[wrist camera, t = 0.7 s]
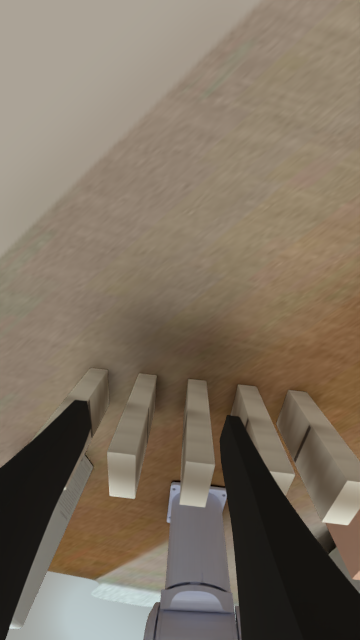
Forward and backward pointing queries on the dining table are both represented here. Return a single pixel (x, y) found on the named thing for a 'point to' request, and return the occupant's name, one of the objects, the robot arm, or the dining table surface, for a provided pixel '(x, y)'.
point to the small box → (51, 540)
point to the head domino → (348, 544)
